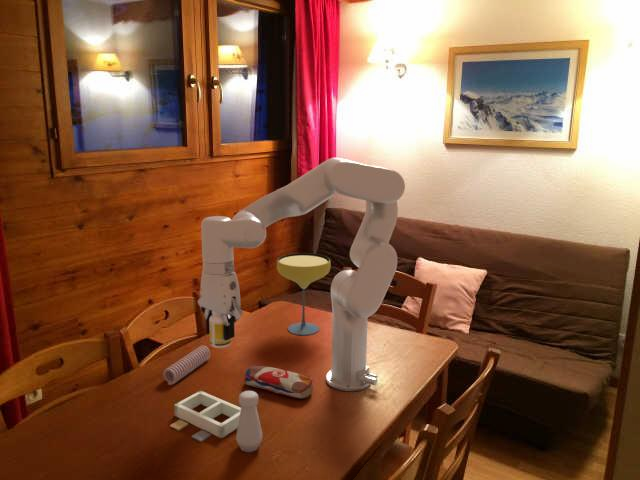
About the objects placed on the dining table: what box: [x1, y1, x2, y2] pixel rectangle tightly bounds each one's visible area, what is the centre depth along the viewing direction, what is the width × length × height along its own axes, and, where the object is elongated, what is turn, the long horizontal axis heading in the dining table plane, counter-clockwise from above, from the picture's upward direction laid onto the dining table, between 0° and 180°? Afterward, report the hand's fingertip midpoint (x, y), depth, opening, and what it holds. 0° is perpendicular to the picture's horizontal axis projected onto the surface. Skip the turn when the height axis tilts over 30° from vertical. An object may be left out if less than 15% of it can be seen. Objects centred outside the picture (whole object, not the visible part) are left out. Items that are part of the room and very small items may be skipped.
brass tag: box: [169, 419, 189, 432], centre depth 125 cm, size 3×3×1 cm
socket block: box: [173, 390, 241, 439], centre depth 128 cm, size 16×8×3 cm, turn 55°
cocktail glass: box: [276, 252, 332, 336], centre depth 180 cm, size 18×18×25 cm
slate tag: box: [191, 429, 212, 443], centre depth 121 cm, size 3×3×1 cm
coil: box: [162, 345, 211, 386], centre depth 152 cm, size 5×5×18 cm
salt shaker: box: [235, 390, 263, 453], centre depth 116 cm, size 6×6×13 cm
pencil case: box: [244, 365, 314, 400], centre depth 143 cm, size 11×20×5 cm, turn 49°
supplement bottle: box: [209, 311, 232, 349], centre depth 134 cm, size 5×5×10 cm
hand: (220, 334), depth 134 cm, fingers closed on supplement bottle, 5 cm apart
